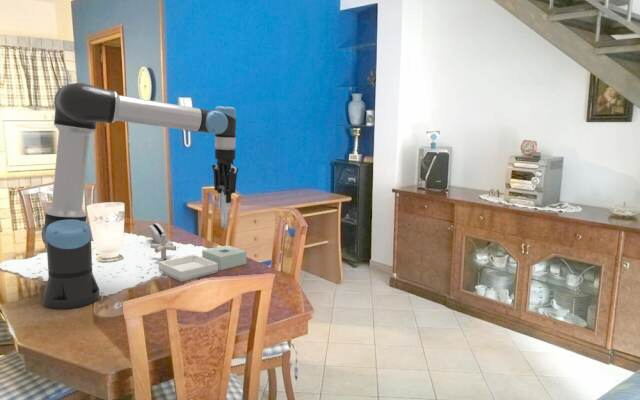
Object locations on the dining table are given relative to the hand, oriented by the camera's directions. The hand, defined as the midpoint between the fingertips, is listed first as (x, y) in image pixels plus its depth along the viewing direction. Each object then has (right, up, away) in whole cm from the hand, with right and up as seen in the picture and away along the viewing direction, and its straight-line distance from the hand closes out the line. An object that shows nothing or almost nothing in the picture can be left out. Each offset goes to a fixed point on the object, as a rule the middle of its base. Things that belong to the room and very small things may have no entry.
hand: (224, 210), depth 180 cm
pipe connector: (-25, -20, +5) cm, 32 cm away
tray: (-12, -22, -8) cm, 26 cm away
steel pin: (0, -6, +1) cm, 6 cm away
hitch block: (-1, -21, +4) cm, 21 cm away
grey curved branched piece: (-34, -16, +28) cm, 46 cm away
